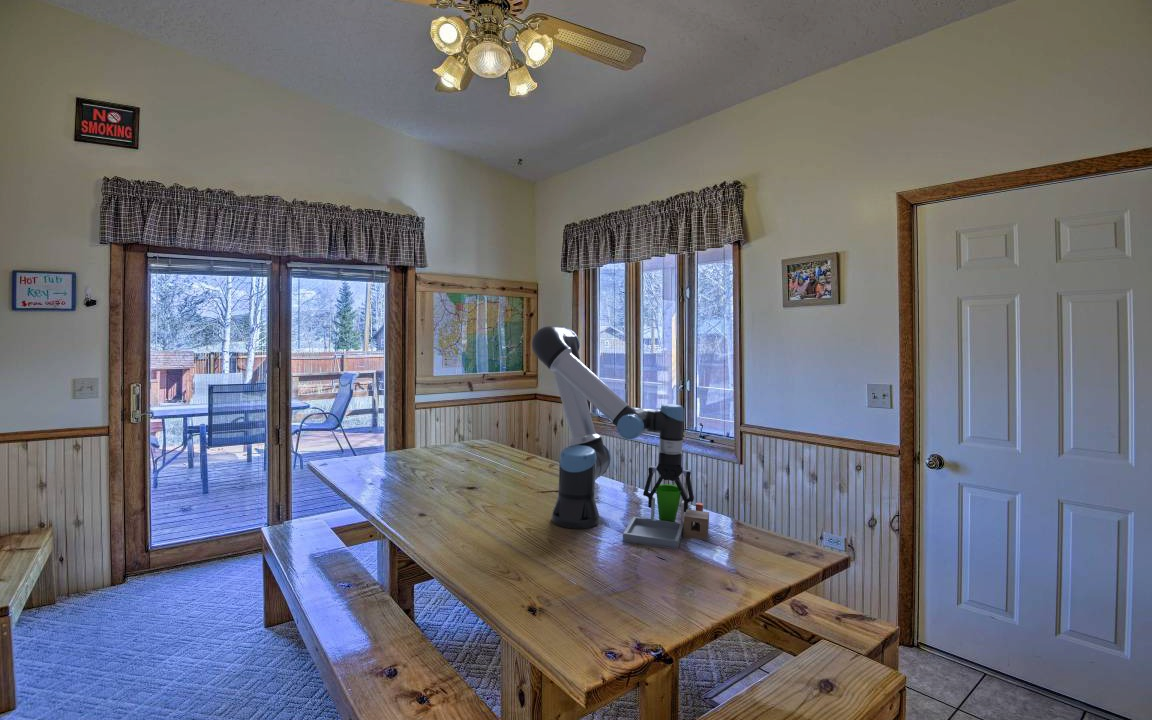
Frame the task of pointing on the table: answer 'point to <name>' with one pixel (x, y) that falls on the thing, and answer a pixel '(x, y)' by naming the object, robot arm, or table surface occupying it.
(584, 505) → the robot arm
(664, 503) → the cup
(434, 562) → the table surface
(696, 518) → the mount
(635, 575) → the table surface
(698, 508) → the pin
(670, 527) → the tray
